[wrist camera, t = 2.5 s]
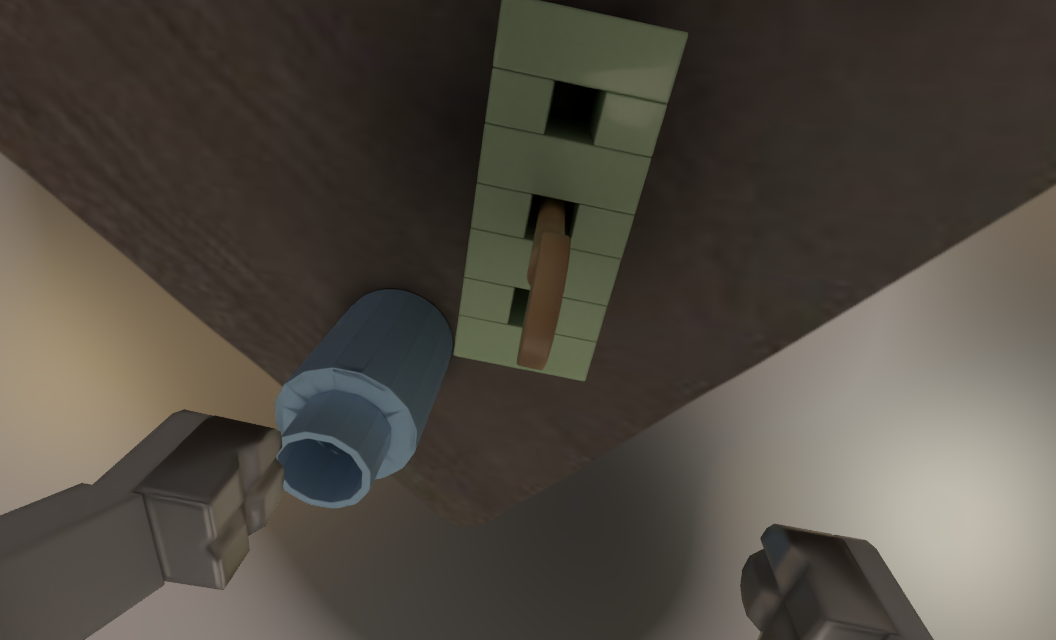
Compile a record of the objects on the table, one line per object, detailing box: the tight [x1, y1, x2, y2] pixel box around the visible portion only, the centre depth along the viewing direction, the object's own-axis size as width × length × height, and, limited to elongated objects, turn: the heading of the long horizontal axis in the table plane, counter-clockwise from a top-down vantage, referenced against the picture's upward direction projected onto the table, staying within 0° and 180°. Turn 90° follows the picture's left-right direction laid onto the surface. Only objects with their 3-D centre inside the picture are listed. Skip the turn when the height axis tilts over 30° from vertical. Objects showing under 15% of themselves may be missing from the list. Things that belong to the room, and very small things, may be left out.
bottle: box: [275, 289, 453, 508], centre depth 28 cm, size 7×7×12 cm
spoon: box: [517, 196, 571, 370], centre depth 20 cm, size 4×1×17 cm, turn 169°
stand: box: [453, 0, 688, 381], centre depth 24 cm, size 16×7×7 cm, turn 169°
